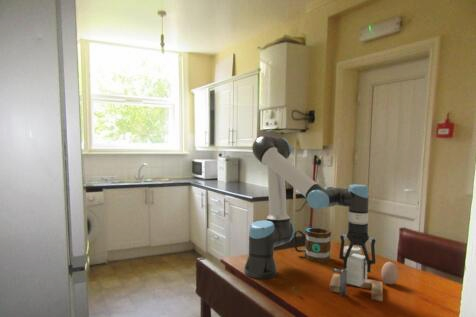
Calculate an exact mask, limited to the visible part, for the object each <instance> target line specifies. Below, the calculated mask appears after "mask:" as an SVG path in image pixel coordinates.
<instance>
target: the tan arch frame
mask: <svg viewBox="0 0 476 317" xmlns="http://www.w3.org/2000/svg"><path fill="white" fill-rule="evenodd" d="M346 286H352V287H358V288H364V289H367V290H368V289H370V290H371V300H374V301H379V302H383V301H384V300H383V299H384V293H383V281H379V280H375V279H368V278H367V281H365V282H364V283H363V284H362V285H361V286H356V285H352V284H348V283H347V282H346ZM328 288H329V292H333V293H338V294H340V273H336V272H333V273H332V277H331V279H330V283H329V286H328Z"/></svg>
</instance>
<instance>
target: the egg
mask: <svg viewBox="0 0 476 317" xmlns="http://www.w3.org/2000/svg"><path fill="white" fill-rule="evenodd" d="M380 272H381V274H380V276H381V279H382V280H383V281H384V283H385V284H386V285H391V286H392V285H394V284H395V283H397V282H398V279H399V271H398V267H397V266H396V264H394V263H393V262H391V261H387V262H385V263H384V264H383V266H382V268H381V271H380Z"/></svg>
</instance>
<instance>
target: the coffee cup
mask: <svg viewBox="0 0 476 317" xmlns="http://www.w3.org/2000/svg"><path fill="white" fill-rule="evenodd" d="M348 248H349V245H346V246H345V245H344V251H343V256H345V255H346V252H347V250H348ZM362 251H363V250H362V247H361V248H360V246H357V245H353V247H352V249H351V251H350V254H349V256H348V257H350V256H351V255H352V254H353V253H354V254H359V255H363V252H362ZM344 270H346V269H344Z"/></svg>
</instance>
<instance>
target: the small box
mask: <svg viewBox="0 0 476 317" xmlns="http://www.w3.org/2000/svg"><path fill="white" fill-rule="evenodd" d="M365 263H367V261H366V258H365V255H363V254H361V255H359V254H354V253H353V254H352V255H351V256H350V257H348V258H347V283H348V284H352V285H356V286H355V287H357V286H361V285H362V284H363V283H364V282H365Z"/></svg>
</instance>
